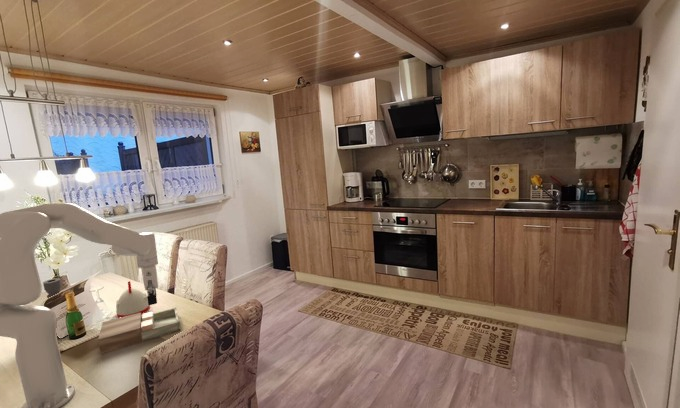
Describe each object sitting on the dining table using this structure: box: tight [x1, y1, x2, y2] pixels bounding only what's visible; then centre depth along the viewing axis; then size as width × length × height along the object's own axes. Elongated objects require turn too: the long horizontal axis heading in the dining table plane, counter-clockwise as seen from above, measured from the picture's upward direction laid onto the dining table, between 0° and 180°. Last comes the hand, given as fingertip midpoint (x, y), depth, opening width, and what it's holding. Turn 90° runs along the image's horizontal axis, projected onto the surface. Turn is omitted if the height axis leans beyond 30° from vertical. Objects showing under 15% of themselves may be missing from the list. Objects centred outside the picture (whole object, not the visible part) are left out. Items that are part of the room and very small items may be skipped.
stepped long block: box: [97, 307, 181, 355], centre depth 139 cm, size 16×28×6 cm, turn 121°
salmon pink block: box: [141, 319, 154, 331], centre depth 136 cm, size 5×5×4 cm
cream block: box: [141, 310, 154, 327], centre depth 143 cm, size 5×5×4 cm
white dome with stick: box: [115, 280, 151, 318], centre depth 159 cm, size 14×14×15 cm
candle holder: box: [42, 277, 63, 340], centre depth 139 cm, size 6×6×25 cm
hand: (152, 300), depth 139 cm, fingers open, 9 cm apart
